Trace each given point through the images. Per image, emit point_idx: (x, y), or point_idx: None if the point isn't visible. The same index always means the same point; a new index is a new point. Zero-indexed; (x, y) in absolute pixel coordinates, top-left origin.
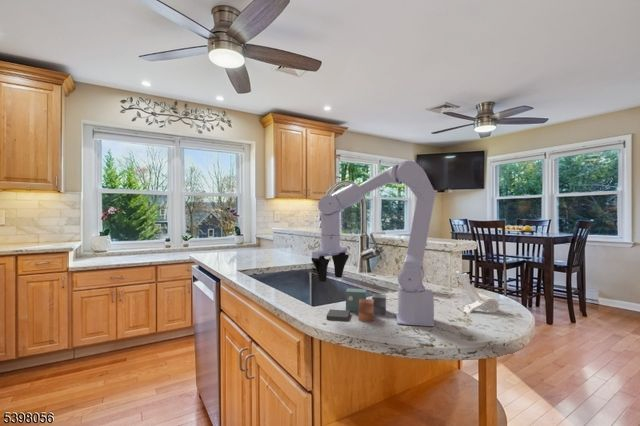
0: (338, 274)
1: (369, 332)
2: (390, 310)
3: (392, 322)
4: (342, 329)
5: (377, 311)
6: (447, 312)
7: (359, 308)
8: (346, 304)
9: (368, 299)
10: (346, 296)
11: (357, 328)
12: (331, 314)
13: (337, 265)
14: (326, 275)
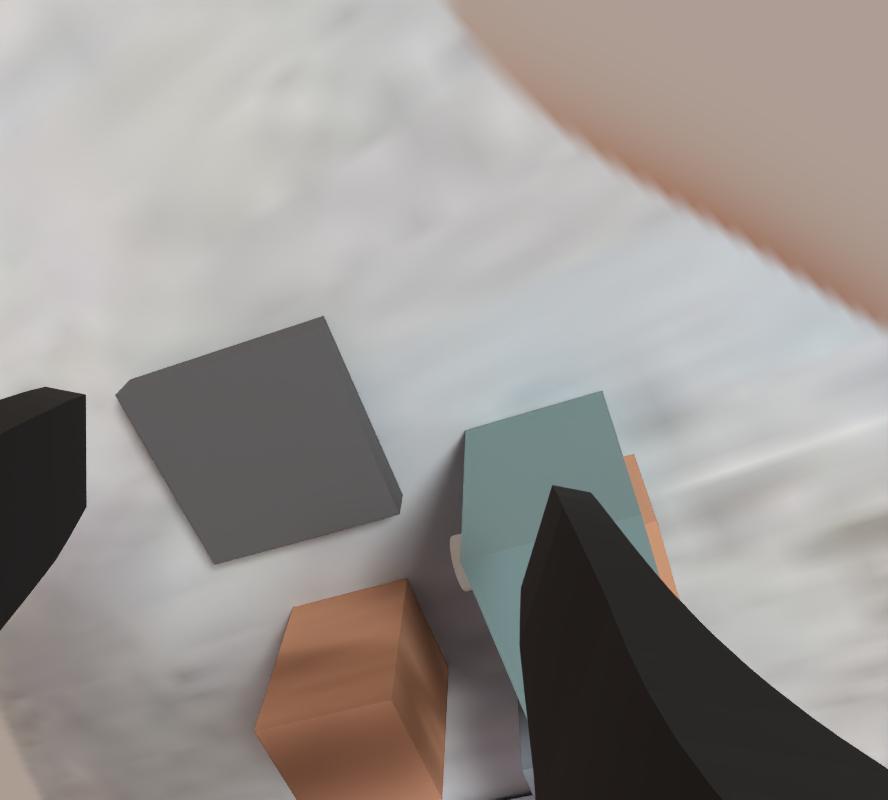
0: (532, 592)
1: (122, 729)
2: None
3: None
4: None
5: None
6: None
7: (271, 691)
8: (464, 474)
9: (422, 764)
10: (463, 528)
11: (131, 652)
12: (181, 417)
13: (576, 718)
14: (17, 605)
